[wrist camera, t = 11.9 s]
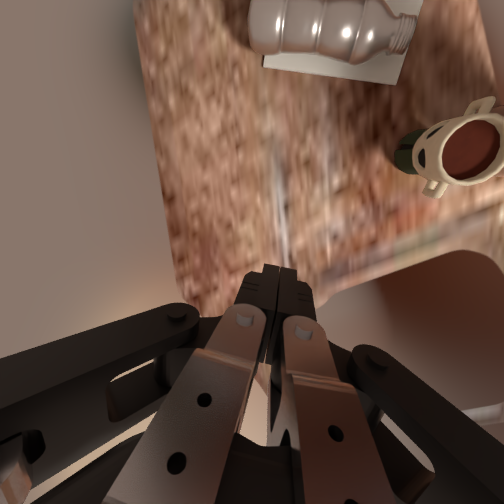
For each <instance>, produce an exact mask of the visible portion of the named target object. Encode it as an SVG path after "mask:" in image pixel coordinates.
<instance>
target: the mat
mask: <svg viewBox="0 0 504 504" xmlns="http://www.w3.org/2000/svg"><path fill="white" fill-rule="evenodd" d="M385 2H386V3H387V4H388V5H389V7H390V9H391V10H392V12H393V13H394V15H396V16H398V15H399V14H400V13H406V14H410V15H417V19H418V16H419V12H420V9H421V6H422V3H423V0H385ZM407 50H408V47H407V49H406V51H405V52H404V54H403V55H390V56H387V55H386V54H385V52H382V53H380V54H379V55H377V56H376V57H374V58H373V59H371V60H369V61H367V62H366V63H364V64H361V65H356V66H353V65H348V64H347V63H346V64H345V63H342V62H339V61H336V60H332V59H329V58H325V57H319V56H317V55H308V54H283V53H281V54H280V55H271V56H265V58H264V65H263V67H264V68H271V69H278V70H285V71H293V72H300V73H307V74H315V75H322V76H329V77H336V78H344V79H351V80H358V81H366V82H373V83H380V84H387V85H396V84H397V80H398V77H399V74H400V71H401V68H402V65H403V62H404V59H405V56H406V53H407Z"/></svg>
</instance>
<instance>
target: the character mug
mask: <svg viewBox="0 0 504 504" xmlns="http://www.w3.org/2000/svg"><path fill="white" fill-rule="evenodd" d="M495 101H496V98H495V97H494V96H489V97H485V98H482V99H478V100H475V101H473V102H471V103H470V105H469V106H468V108H467V109H466V111H465V113H464V115H463V116H461V117H456V118H452V119H448V120H444V121H441V122H439V123H437V124H435V125H433V126H432V127H431V128H429V129H428V130H417V131H414V132H412V133H409V134H407V135H406V136H405V137H404V138H403V139H402V140H401V141H400V142H399V144H404V145H403V146H402V148H401V150H396V151H395V163H396V165H397V166H398V168H399V170H401V171H403V172H405V173H407V174H419V175H420V176H422V177H424V178H426V179H427V180H428V182H427V184H426V186H425V188H424V190H423V192H422V193H423V194H424V195H425V196H427V197H430V198H434V199H435V198H440V197H441V196H442V194H443V193H444V191H445V189H446V187H447V186H448V184H452V185H465V186H470V185H473V184H477V183H480V182H484V181H486V180H487V179H489V178H490V177H492V176H494V175H495V174H497V173H498V172H499V171H500V170H501V169H502V168H503V167H504V117H503V116H501V115H500V114H498V113H489V112H490V111H491V109H492V107H493V105H494V104H495ZM477 109H479V111H478V113H476V114H475V112H476V111H477ZM437 182H439V183H438V185H437V186H436V188H435V190H433V189H434V187H435V185H436V183H437Z"/></svg>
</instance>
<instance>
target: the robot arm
mask: <svg viewBox="0 0 504 504" xmlns="http://www.w3.org/2000/svg"><path fill="white" fill-rule="evenodd" d="M489 113H498V114H500V115H501V116H503V117H504V105H503V106H499V107H495V108H493V109H491V111H490V112H489ZM494 176H497V177H504V167H503V168H502V169H501V170H500V171H499V172H498V173H497V174H495V175H494ZM279 269H280V272H279ZM266 349H267V352H266ZM265 353H266V360H265V363H266V364H270V365H271V373H270V377H269V381H268V409H267V410H268V411H267V446H260V445H258V444H256V443H254V442H252V441H251V440H249V439H247V438H246V437H244V436H242V435H240V434H239V433H240V430H241V425H242V422H243V418H244V414H245V410H246V406H247V403H248V398H249V395H250V391H251V387H252V383H253V379H254V376H255V375H256V373H257V370H258V365H259V362H261V363H263V362H264V358H265ZM152 359H154V362H152V363H150V364H148V365H145V366H143V367H141V368H139V369H137V370H135V371H133V372H131V373H129V374H126V375H124V376H122V377H120V378H118V379H116V380H114V381H112V382H110V381H111V380H112V379H114V378H115V377H116V376H118V375H119V374H122V373H124V372H126V371H128V370H130V369H132V368H134V367H137V366H139V365H141V364H143V363H145V362H147V361H149V360H152ZM155 412H157V413H156V414H155V416H154V418H153V419H152V421H151V423H150V424H149V426H148V427H147V429H146V431H144V432H142V433H139V434H137V435H134V436H132V437H130V438H128V439H126V440H125V441H123V442H121V443H119V444H118V445H116V446H114V447H113V448H112V449H110V450H108V451H107V452H106V453H104V454H103V455H101V456H100V457H98V458H97V459H95V460H94V461H92V462H91V463H89V464H88V465H86V466H85V467H84V468H82V469H81V470H79V471H78V472H76V473H75V474H73V475H72V476H70V477H69V478H67V479H66V480H64V481H63V482H61V483H60V484H59V485H57V486H56V487H54V488H53V489H51V490H50V491H48V492H47V493H46V494H44V495H42V496H41V497H39V498H38V499H36V500H35V501H34V502H32V503H30V504H504V445H503V444H502V443H500V442H499V441H498V440H497V439H495V438H494V437H493V436H492V435H490V434H489V433H488V432H486V431H485V430H484V429H483V428H482V427H480V426H479V425H478V424H476V423H475V422H474V421H473V420H471V419H470V418H469V417H468V416H466V415H465V414H464V413H463V412H461V411H460V410H459V409H458V408H456V407H455V406H454V405H453V404H451V403H450V402H449V401H447V400H446V399H445V398H444V397H442V396H441V395H440V394H439V393H437V392H436V391H435V390H434V389H432V388H431V387H430V386H429V385H427V384H426V383H425V382H424V381H422V380H421V379H420V378H418V377H417V376H416V375H415V374H413V373H412V372H411V371H410V370H408V369H407V368H406V367H405V366H403V365H402V364H401V363H400V362H398V361H397V360H396V359H394V358H393V357H392V356H391V355H389V354H388V353H387V352H385V351H383V350H381V349H379V348H377V347H375V346H371V345H365V344H362V345H358V346H356V347H354V348H353V350H352V352H350V351H348V350H345V349H343V348H341V347H339V346H337V345H335V344H333V343H331V342H330V341H328V340H327V337H326V333H325V331H324V329H323V328H322V327H321V326H320V324H318V323H317V320H316V314H315V307H314V301H313V294H312V289H311V288H310V287H309V285H308V284H307V283H306V282H301V281H297V270H295V269H290V268H285V267H281V268H280V266H275V265H270V264H265V263H264V267H263V271H262V273H258V272H253V271H251V272H249V273H248V274H246V275H245V276H244V279H243V281H242V284H241V287H240V289H239V292H238V294H237V297H236V299H235V302H234V305H232V306H230V307H228V308H227V309H226V311H225V313H224V314H223V315H222V316H218V317H200V314H199V312H198V310H197V309H196V308H195V307H193V306H192V305H189V304H186V303H170V304H167V305H163V306H160V307H157V308H154V309H151V310H148V311H146V312H142V313H139V314H136V315H133V316H130V317H127V318H124V319H121V320H118V321H114V322H111V323H108V324H105V325H102V326H99V327H96V328H93V329H90V330H87V331H84V332H81V333H78V334H75V335H72V336H68V337H65V338H62V339H59V340H56V341H53V342H50V343H47V344H44V345H41V346H38V347H35V348H32V349H28V350H25V351H22V352H19V353H17V354H13V355H10V356H7V357H4V358H1V359H0V504H23V503H24V501H25V499H26V497H27V496H28V493H29V492H30V490H31V489H32V488H34V487H36V486H37V485H39V484H41V483H42V482H44V481H45V480H47V479H49V478H50V477H52V476H54V475H55V474H57V473H58V472H60V471H62V470H63V469H65V468H66V467H68V466H70V465H71V464H73V463H74V462H76V461H78V460H79V459H81V458H83V457H84V456H86V455H87V454H89V453H91V452H92V451H94V450H95V449H97V448H99V447H100V446H102V445H103V444H105V443H107V442H108V441H110V440H111V439H113V438H115V437H116V436H118V435H119V434H121V433H123V432H124V431H126V430H127V429H129V428H131V427H132V426H134V425H136V424H137V423H139V422H140V421H142V420H144V419H145V418H147V417H149V416H150V415H152V414H153V413H155ZM384 413H386V415H388V417H390V419H392V420H393V422H394V423H396V425H397V426H399V428H400V429H401V430H402V431H403V432H404V433H405V434H406V435H407V436H408V437H409V438H410V439H411V440H412V441H413V442H414V443H415V444H416V445H417V446H418V447H419V448H420V449H421V450H422V451H423V452H424V453H425V454H426V455H427V457H428V458H429V459H430V461H431V463H432V464H433V467H434V470H435V473H434V472H431V471H429V470H428V469H427V468H425V467H424V466H423V465H422V464H421V463H420V462H419V461H418V460H417V459H416V458H415V457H414V455H413V454H412V453H410V451H409V450H408V449H407V448H406V447H405V446H404V445H403V444H402V443H401V442H400V441H399V440H398V439H397V438H396V437H395V436H394V434H393V433H392V432H391V431H390V430H389V429H388V428H387V427H386V426H385V425H384V424H383V423H382V422H381V421H380V420H381V418H382V417H383V415H384Z"/></svg>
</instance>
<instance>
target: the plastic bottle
mask: <svg viewBox="0 0 504 504" xmlns="http://www.w3.org/2000/svg"><path fill="white" fill-rule="evenodd" d="M416 24H417V15H410V14H406V13H400V14H399V15H398V16H396V15H394V13H393V12H392V10H391V9H390V7H389V5H388V4H387V3H386V2H385V0H251V2H250V7H249V12H248V19H247V25H248V34H249V42H250V47H251V48H252V49H253V50H254V51H255V52H256V53H259V54H262V55H264V56H271V55H280V54H281V53H283V54H308V55H317V56H319V57H325V58H329V59H332V60H336V61H339V62H342V63H345V64H346V63H347V64H348V65H353V66H356V65H361V64H364V63H366V62H367V61H369V60H371V59H373V58H374V57H376V56H377V55H379V54H380V53H382V52H385V54H386V55H387V56H390V55H403V54H404V52H405V51H406V49H407V47H408V46H409V43H410V41H411V39H412V37H413V34H414V31H415V28H416Z"/></svg>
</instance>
